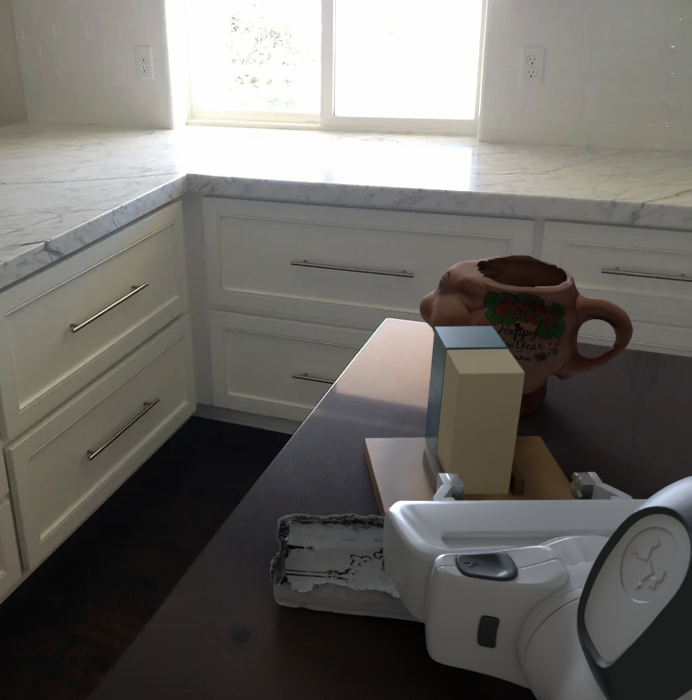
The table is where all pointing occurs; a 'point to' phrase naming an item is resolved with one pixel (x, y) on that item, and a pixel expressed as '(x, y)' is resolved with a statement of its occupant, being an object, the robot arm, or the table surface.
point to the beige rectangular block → (480, 418)
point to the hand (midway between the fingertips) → (514, 480)
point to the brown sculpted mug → (526, 316)
